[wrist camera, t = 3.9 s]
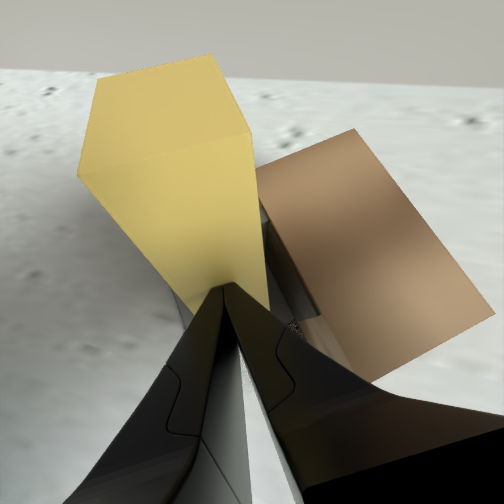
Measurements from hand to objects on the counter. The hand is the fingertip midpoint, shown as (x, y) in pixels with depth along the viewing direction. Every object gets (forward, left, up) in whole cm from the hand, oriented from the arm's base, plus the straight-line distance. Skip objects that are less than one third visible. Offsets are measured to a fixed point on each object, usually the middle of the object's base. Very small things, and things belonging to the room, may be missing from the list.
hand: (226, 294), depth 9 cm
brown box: (0, -6, -8) cm, 10 cm away
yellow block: (0, 0, -7) cm, 7 cm away
